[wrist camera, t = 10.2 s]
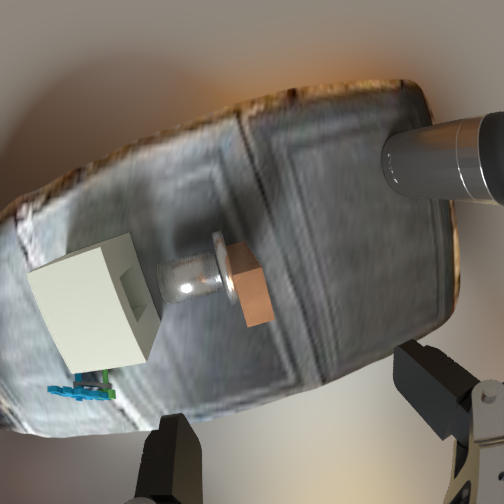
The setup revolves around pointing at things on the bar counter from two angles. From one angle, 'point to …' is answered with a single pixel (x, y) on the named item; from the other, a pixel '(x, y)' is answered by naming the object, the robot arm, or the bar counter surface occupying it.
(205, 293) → the wood and metal l-shape
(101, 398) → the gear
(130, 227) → the bar counter surface
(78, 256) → the block
